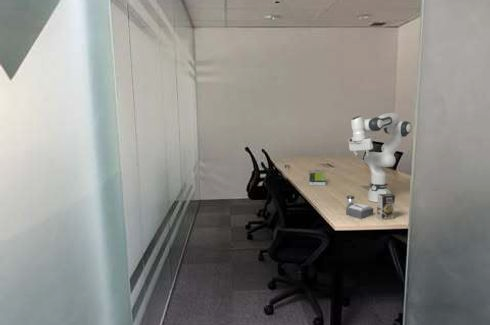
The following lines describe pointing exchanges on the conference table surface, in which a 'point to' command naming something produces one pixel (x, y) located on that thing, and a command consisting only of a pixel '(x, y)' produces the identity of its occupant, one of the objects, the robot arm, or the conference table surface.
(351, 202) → the glass jar
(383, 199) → the coffee box
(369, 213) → the grey white square holder
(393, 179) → the conference table surface
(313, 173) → the tea box
